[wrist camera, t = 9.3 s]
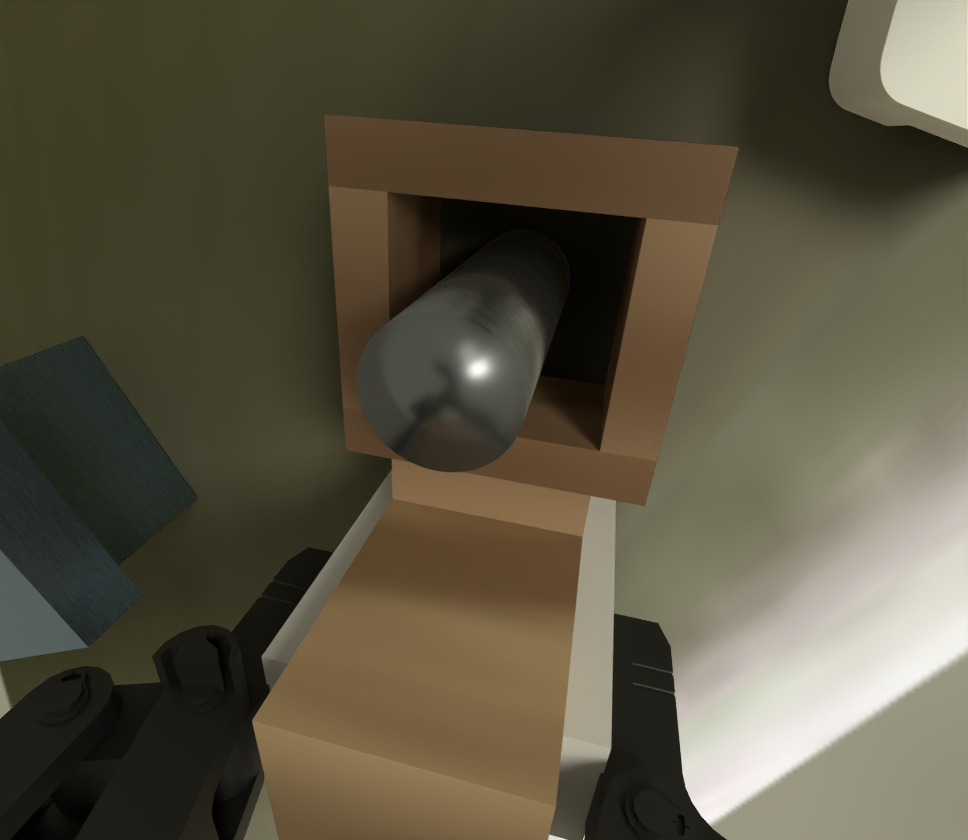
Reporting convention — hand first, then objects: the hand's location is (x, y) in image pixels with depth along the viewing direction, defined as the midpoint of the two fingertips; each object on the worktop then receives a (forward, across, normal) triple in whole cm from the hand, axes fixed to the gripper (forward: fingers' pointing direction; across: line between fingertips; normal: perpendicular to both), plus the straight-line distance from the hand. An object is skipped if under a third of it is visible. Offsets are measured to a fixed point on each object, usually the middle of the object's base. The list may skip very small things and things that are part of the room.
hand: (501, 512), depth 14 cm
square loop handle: (0, 0, +2) cm, 2 cm away
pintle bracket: (+1, -7, +3) cm, 7 cm away
